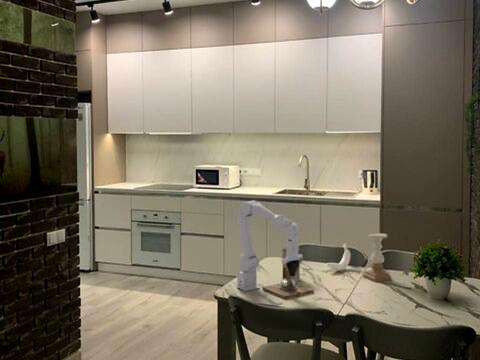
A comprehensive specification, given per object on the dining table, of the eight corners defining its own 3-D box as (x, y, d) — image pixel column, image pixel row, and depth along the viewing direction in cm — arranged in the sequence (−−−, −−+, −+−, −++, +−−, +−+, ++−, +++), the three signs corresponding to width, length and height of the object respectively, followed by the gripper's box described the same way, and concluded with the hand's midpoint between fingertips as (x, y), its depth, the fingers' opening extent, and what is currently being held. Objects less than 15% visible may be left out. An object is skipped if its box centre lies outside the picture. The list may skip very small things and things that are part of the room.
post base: (285, 299, 245) (285, 294, 245) (262, 290, 260) (262, 285, 260) (313, 292, 255) (313, 288, 255) (290, 284, 270) (290, 279, 270)
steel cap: (279, 284, 261) (279, 276, 260) (293, 284, 261) (293, 276, 261) (283, 291, 248) (283, 283, 248) (298, 291, 249) (298, 283, 248)
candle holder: (391, 279, 277) (392, 235, 275) (374, 282, 273) (375, 237, 271) (379, 274, 287) (379, 232, 285) (362, 276, 283) (362, 233, 281)
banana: (326, 272, 292) (326, 247, 291) (345, 266, 306) (345, 242, 304) (333, 274, 289) (333, 248, 287) (352, 268, 302) (352, 243, 301)
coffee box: (299, 277, 282) (299, 248, 281) (299, 281, 276) (299, 251, 274) (282, 277, 283) (282, 248, 282) (282, 280, 276) (282, 250, 275)
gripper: (290, 251, 242) (290, 280, 243) (307, 246, 253) (307, 274, 254) (278, 249, 247) (278, 277, 248) (296, 244, 258) (295, 271, 259)
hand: (292, 275), depth 251 cm, fingers closed
